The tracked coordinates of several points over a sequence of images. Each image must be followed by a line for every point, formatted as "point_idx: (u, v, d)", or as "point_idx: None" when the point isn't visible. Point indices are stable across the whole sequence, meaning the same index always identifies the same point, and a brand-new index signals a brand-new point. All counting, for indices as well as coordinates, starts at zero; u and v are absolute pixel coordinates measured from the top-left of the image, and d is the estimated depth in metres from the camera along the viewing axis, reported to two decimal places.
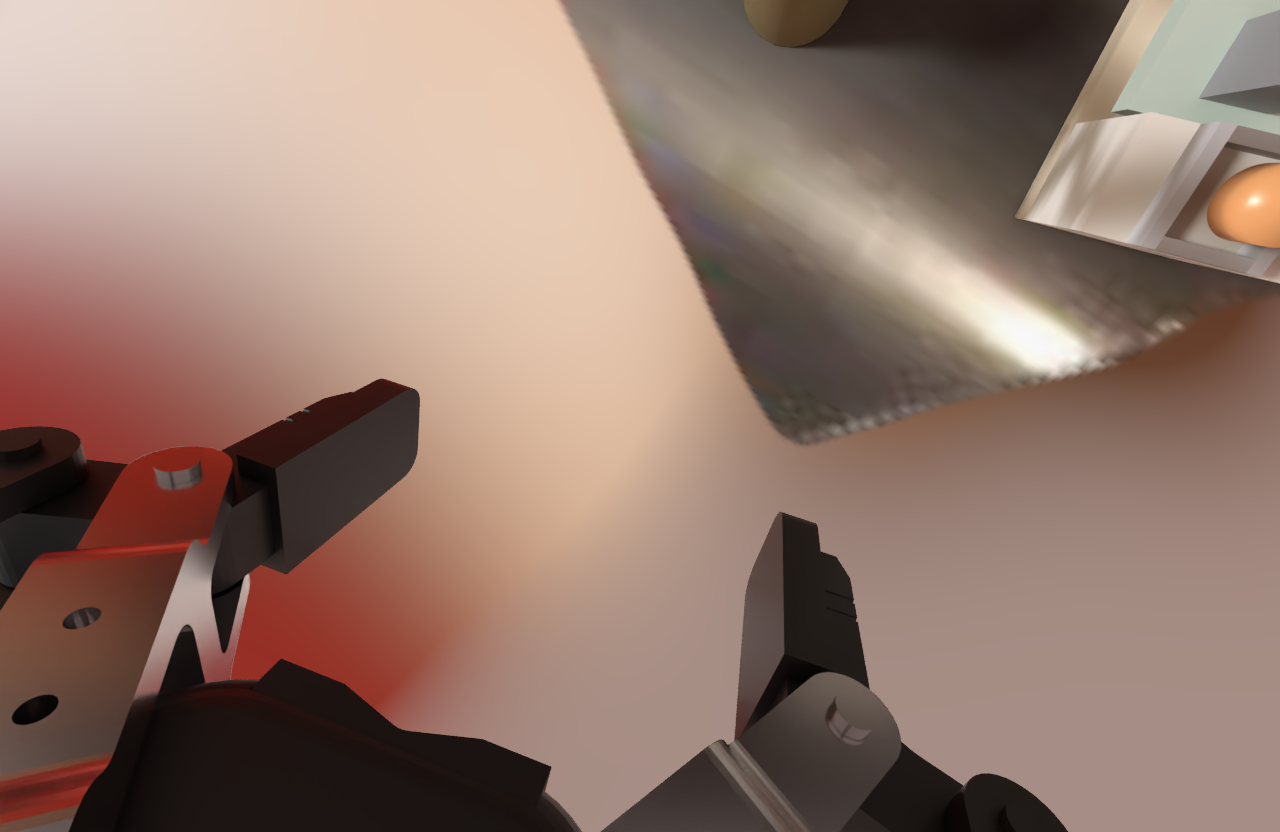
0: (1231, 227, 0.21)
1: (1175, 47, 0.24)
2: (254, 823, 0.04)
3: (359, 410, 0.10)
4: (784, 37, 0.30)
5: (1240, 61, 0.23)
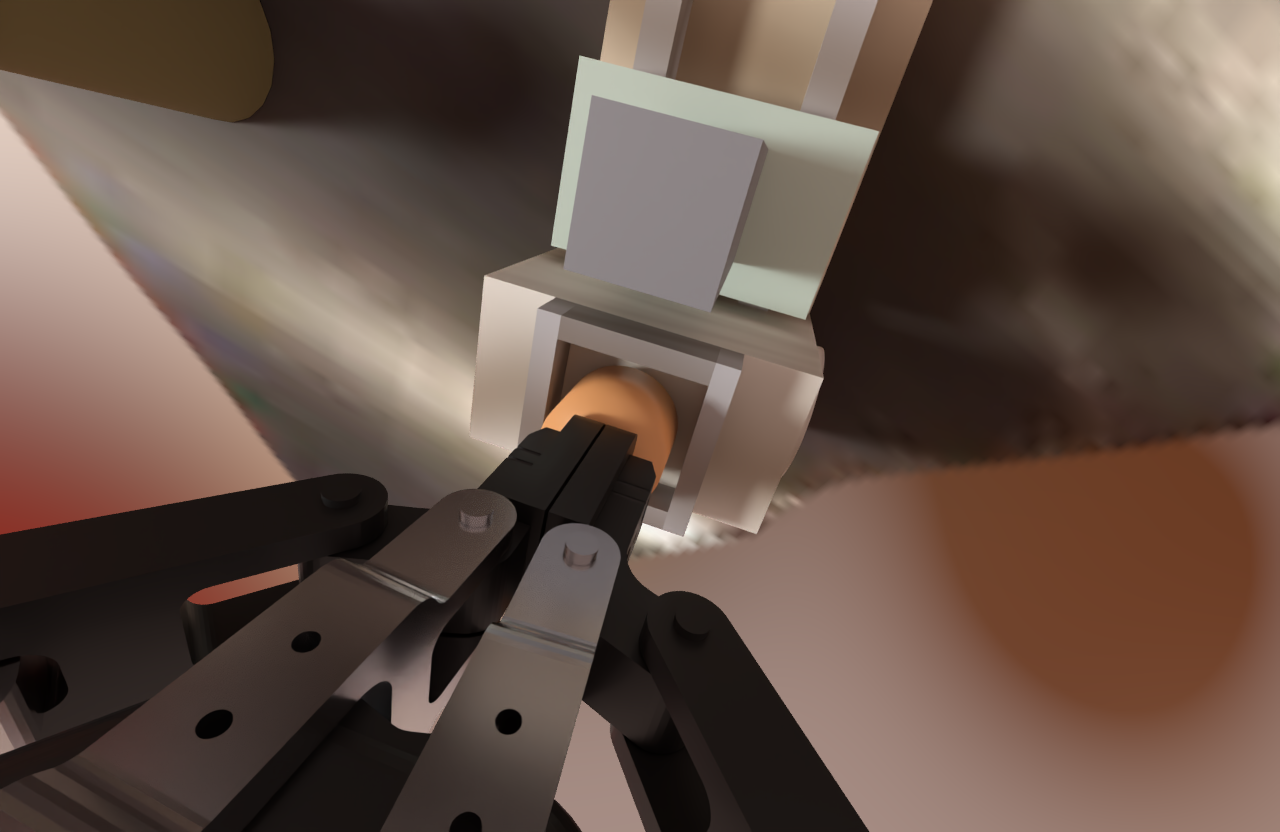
0: None
1: (579, 158, 0.15)
2: (254, 823, 0.04)
3: (576, 448, 0.10)
4: (187, 112, 0.21)
5: None
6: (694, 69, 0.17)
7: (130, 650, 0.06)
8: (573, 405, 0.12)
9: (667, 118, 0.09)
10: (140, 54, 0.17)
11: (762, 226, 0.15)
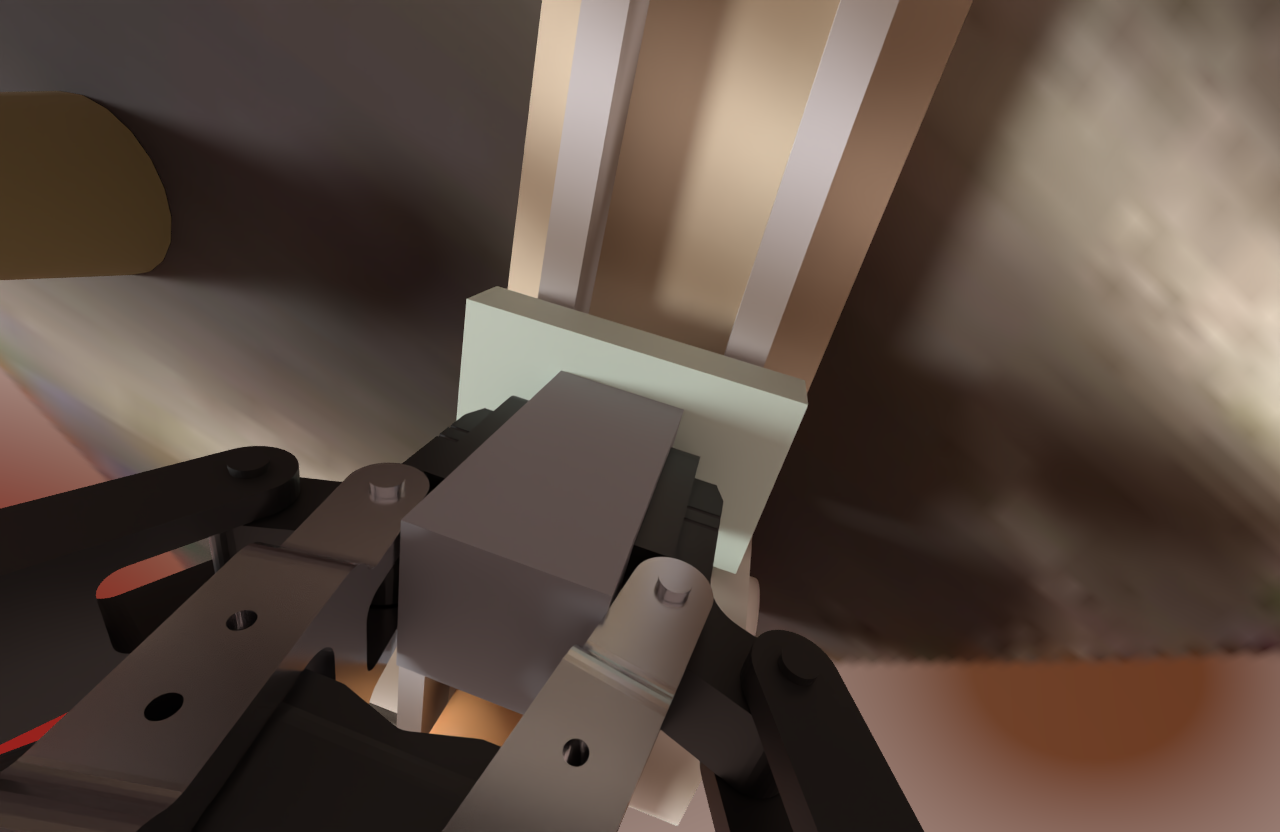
0: None
1: (475, 397, 0.13)
2: (254, 823, 0.04)
3: None
4: None
5: None
6: (614, 275, 0.15)
7: (45, 641, 0.06)
8: None
9: (494, 554, 0.07)
10: None
11: None
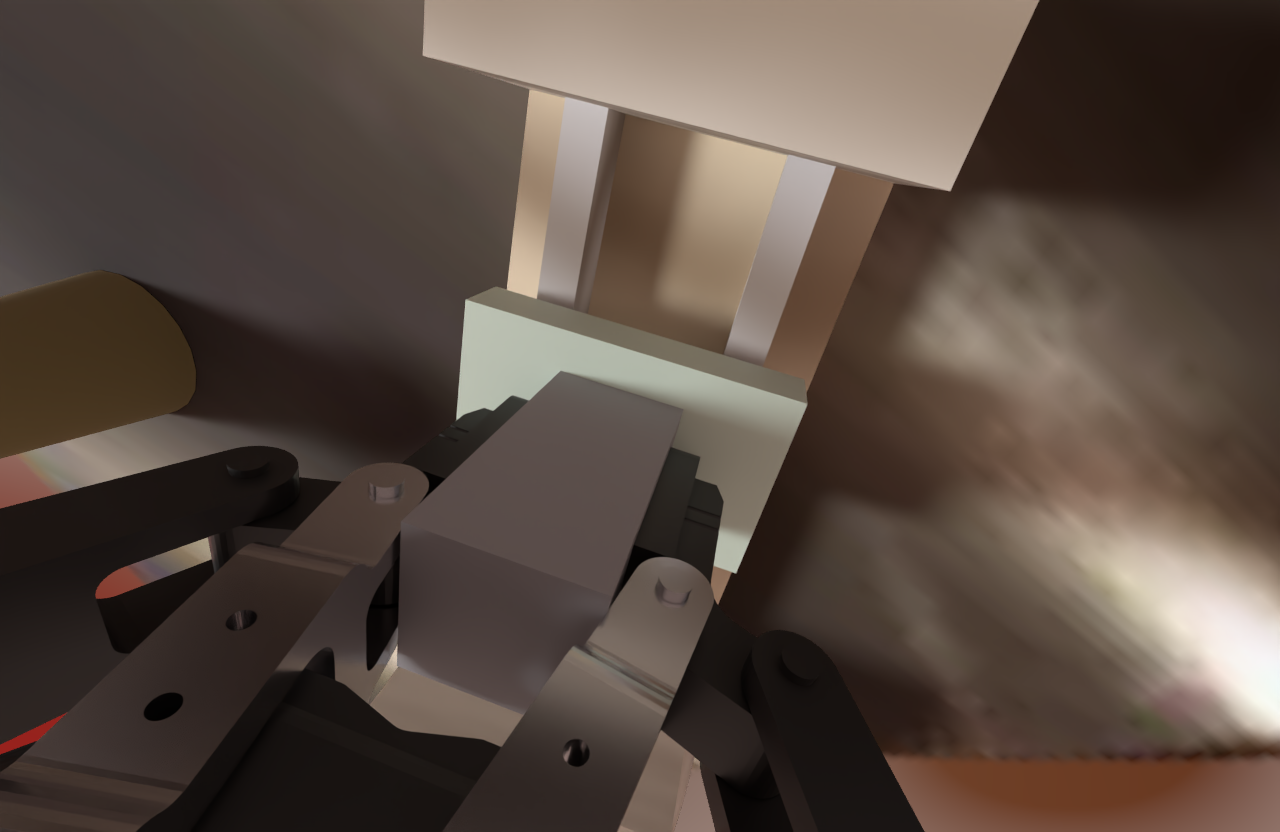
0: None
1: (475, 397, 0.13)
2: (254, 823, 0.04)
3: None
4: None
5: None
6: None
7: (44, 641, 0.06)
8: None
9: (495, 555, 0.07)
10: (53, 427, 0.18)
11: None
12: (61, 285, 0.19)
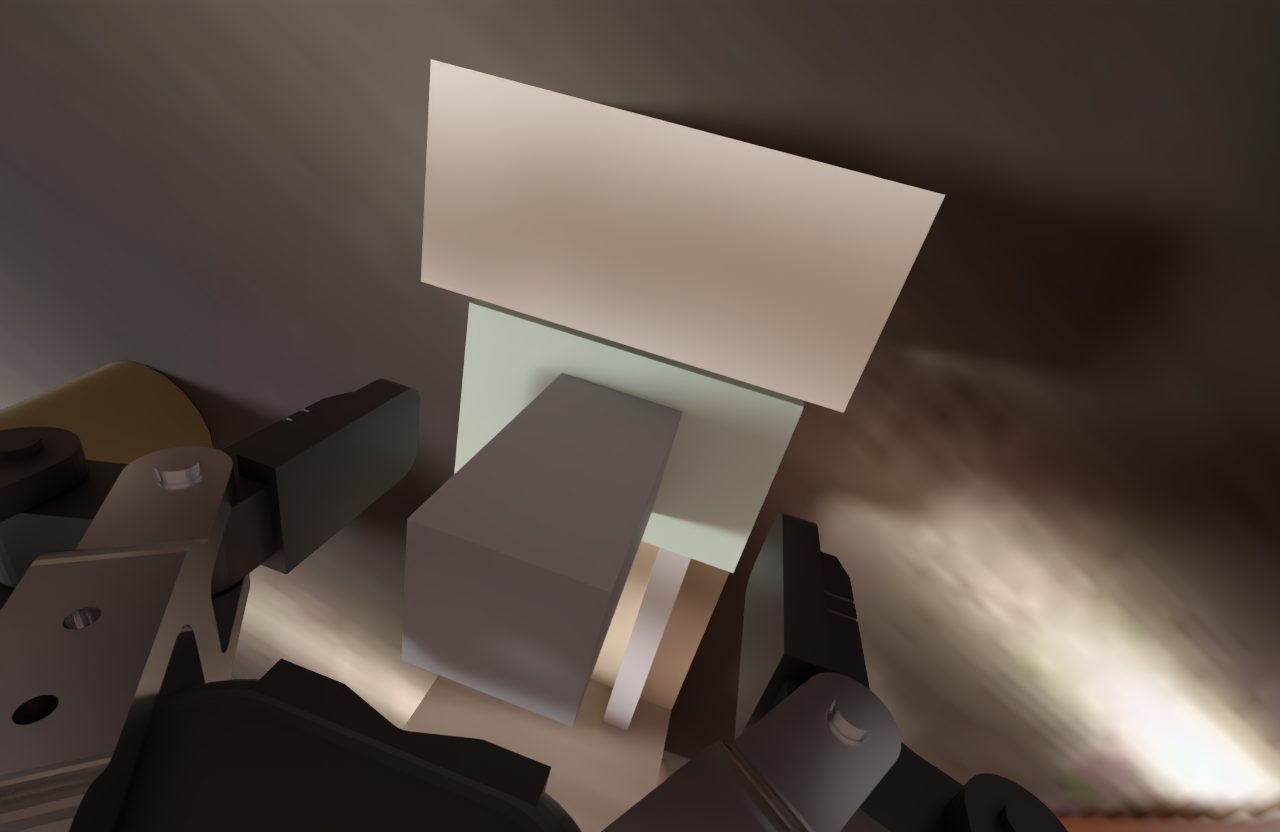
0: None
1: (478, 398, 0.14)
2: (254, 823, 0.04)
3: (359, 410, 0.10)
4: None
5: None
6: None
7: None
8: None
9: (498, 552, 0.07)
10: None
11: (680, 482, 0.13)
12: (94, 380, 0.21)
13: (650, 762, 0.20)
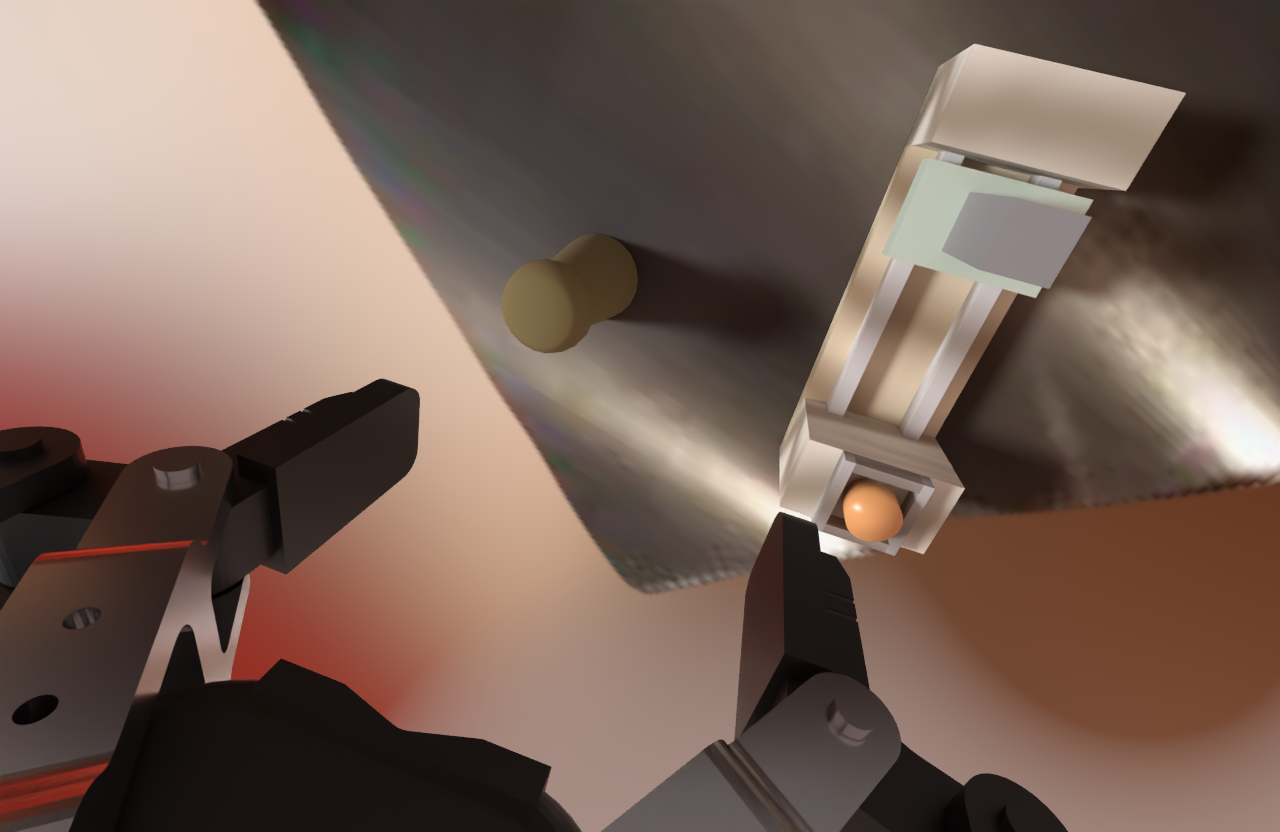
0: None
1: (916, 210, 0.28)
2: (254, 823, 0.04)
3: (359, 410, 0.10)
4: None
5: (960, 229, 0.27)
6: (887, 326, 0.34)
7: None
8: (867, 500, 0.30)
9: (1049, 207, 0.22)
10: (606, 313, 0.35)
11: None
12: (593, 240, 0.36)
13: (938, 451, 0.34)
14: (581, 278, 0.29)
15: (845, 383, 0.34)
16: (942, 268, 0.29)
